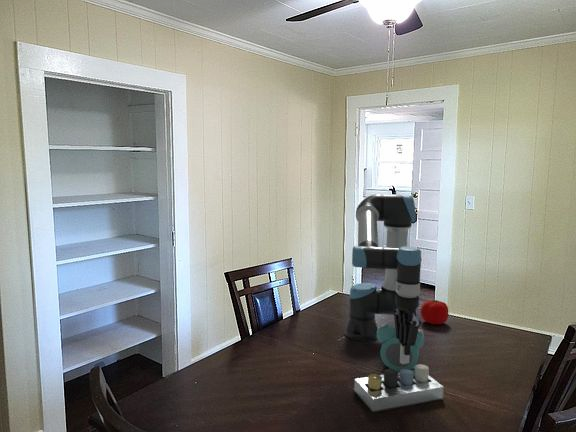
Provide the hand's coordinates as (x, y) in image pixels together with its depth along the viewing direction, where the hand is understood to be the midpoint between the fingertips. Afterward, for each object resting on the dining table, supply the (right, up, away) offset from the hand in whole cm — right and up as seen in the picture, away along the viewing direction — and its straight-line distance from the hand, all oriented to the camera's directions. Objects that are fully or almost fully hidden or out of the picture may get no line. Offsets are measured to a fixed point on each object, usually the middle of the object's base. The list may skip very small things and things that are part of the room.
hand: (404, 362), depth 143 cm
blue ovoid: (+1, -10, +2) cm, 10 cm away
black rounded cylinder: (-5, -9, 0) cm, 10 cm away
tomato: (+33, -4, +67) cm, 75 cm away
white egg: (+7, -8, +3) cm, 11 cm away
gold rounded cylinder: (-11, -10, -2) cm, 15 cm away
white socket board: (-2, -11, +1) cm, 12 cm away
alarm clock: (+3, -9, +20) cm, 23 cm away
